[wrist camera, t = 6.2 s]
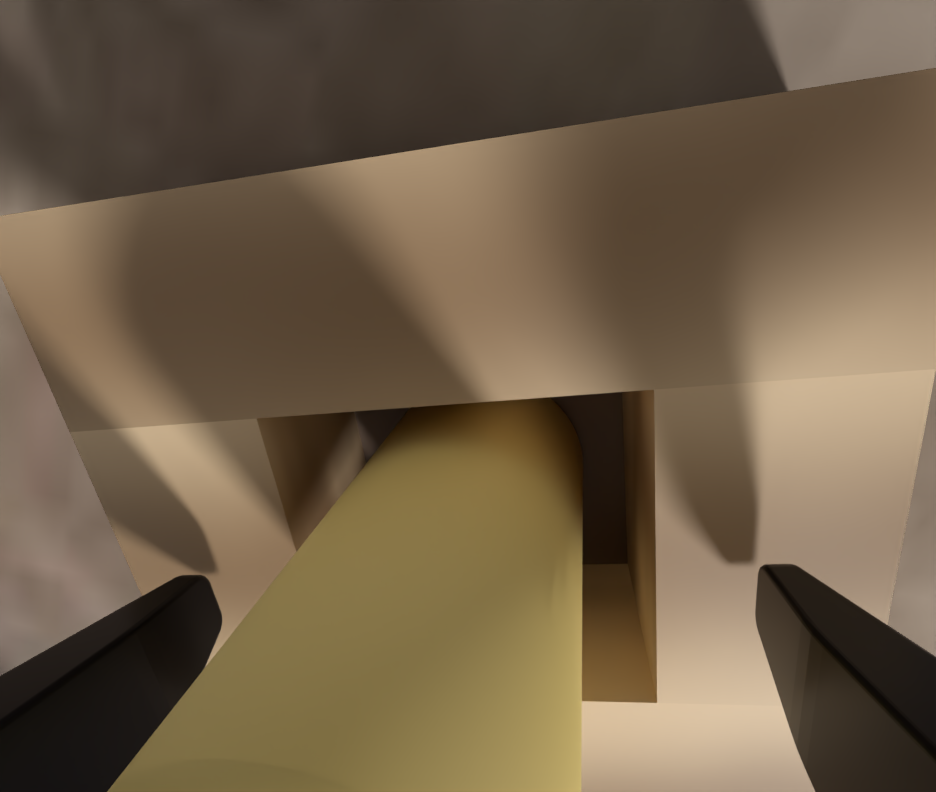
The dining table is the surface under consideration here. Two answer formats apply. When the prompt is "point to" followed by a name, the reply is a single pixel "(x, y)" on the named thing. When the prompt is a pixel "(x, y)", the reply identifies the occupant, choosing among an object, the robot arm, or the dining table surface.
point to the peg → (408, 628)
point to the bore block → (536, 373)
